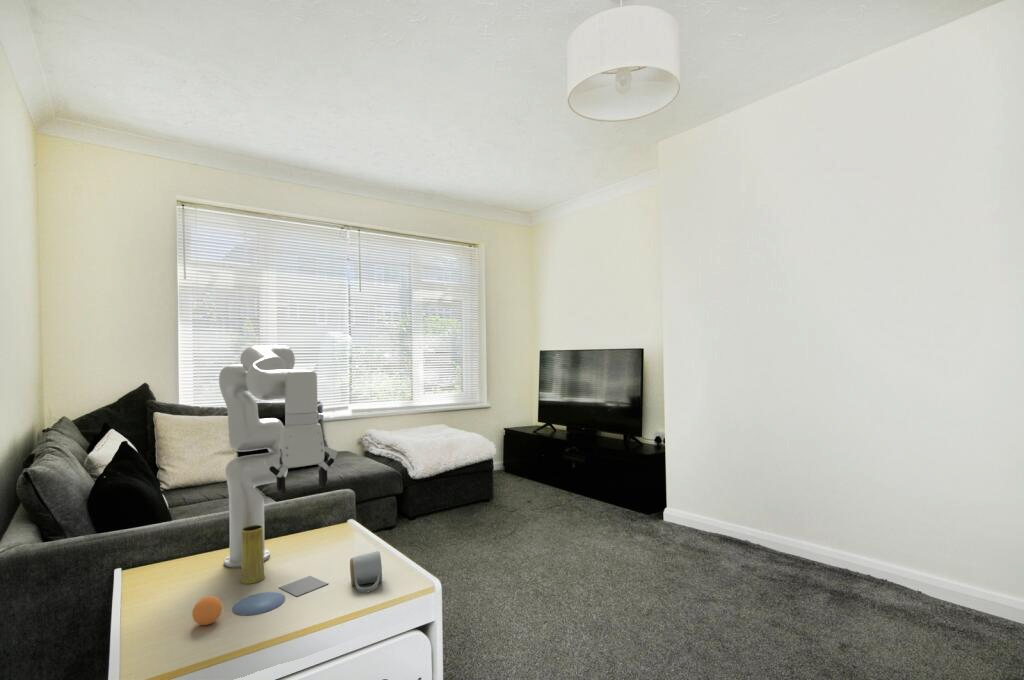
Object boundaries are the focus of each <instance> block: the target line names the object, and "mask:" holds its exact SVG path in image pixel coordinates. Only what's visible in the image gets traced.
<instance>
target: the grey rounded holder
mask: <svg viewBox="0 0 1024 680" xmlns="http://www.w3.org/2000/svg"><path fill="white" fill-rule="evenodd" d="M382 567H383V566H382V558H381V552H380V551H378V550H377V551H373V552H369V553H364V554H359V555H356V556H354V557H351V558H350V560H349V572H350V583H351V585H353V586H355V587H356V589H357V590H358V591H359V592H361V593H369V592H368V591H371V592H373V591H374V590H376V589H377V587H378V586H379V583H380V582H382V581H383V568H382ZM373 583H374V584H373ZM366 584H372V585H371V586H368V587H362V586H361V585H366ZM372 590H373V591H372Z"/></svg>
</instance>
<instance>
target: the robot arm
mask: <svg viewBox="0 0 1024 680" xmlns="http://www.w3.org/2000/svg"><path fill="white" fill-rule="evenodd" d="M239 359H240V363H235V364H230V365H226V366H224V367H223V368H222V369H221V370H220V372H219V376H218V382H219V383H218V385H219V389H220V393H221V396H222V399H223V400H224V403H225V405H226V409H227V410H226V411H227V423H228V424H227V426H228V439H229V445H230V449H232V450H233V451H235V452H251V451H258V450H266V449H267V451H268V452H265V453H264V452H263V453H257V454H249V455H243V456H238V457H235V458H233V459H230V461H229V462H228V463H227V464H226V467H225V478H226V479H225V480H226V484H227V491H228V506H229V507H228V508H229V515H228V516H229V517H228V519H229V546H228V548H229V555H227V556H226V557H225V558H224V559H223V565H225V566H226V567H228V568H241V561H242V529H243V528H244V527H247V526H252V525H261V526H263V560H264V562H265V561H266V560H268V559H270V556H271V551H270V550H269V549H267V548H265V547H266V546H265V499H264V496H263V495H262V494H261V493H260V492H259V491H258V490H257V488H256V487H258V486H262V485H268V484H273V483H276V490H277V491H278V492H279V493H280V494H281V495H284V494H285V493H286V477H287V475H288V470H289V469H291V468H292V469H294V468H299V467H300V468H301V467H306V466H313V465H318V466H319V467H320V468H319V470H318V485H319V486H321V487H324V488H325V487H327V484H326V483H327V482H328V470H329V469H330V467H331V466H332V464H333V463H335V459H336V457H337V455H338V450H335V449H333V448H330V447H329V446H326V445H325V443H324V435H323V431H322V426H321V423H319V420H322V419H324V413H320V412H319V411H318V408H319V407H318V374H317V372H315V370H309V369H302V368H301V369H300V368H299V369H294V367H295V364H296V363H295V362H296V357H295V354H294V352H293V350H292V349H291V348H290V347H289V346H287V345H282V344H281V345H279V344H278V345H277V344H275V345H274V344H273V345H269V344H268V345H267V344H266V345H262V344H261V345H259V344H257V345H252V346H249V347H247V348H245V349H244V350H243V352H241V355H240V357H239ZM248 392H249V393H248ZM251 395H252V396H251ZM254 397H255V398H256V399H257V400H261V401H272V400H284V415H285V417H284V420H285V421H284V422H285V423H283V422H282V421H281V420H280V419H278V418H275V417H270V418H269V417H267V418H260V417H259V406H258V403H257V401H256V400H255V399H254ZM326 453H328V454H329V456H328V458H327V459H326V460H325V454H326Z"/></svg>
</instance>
